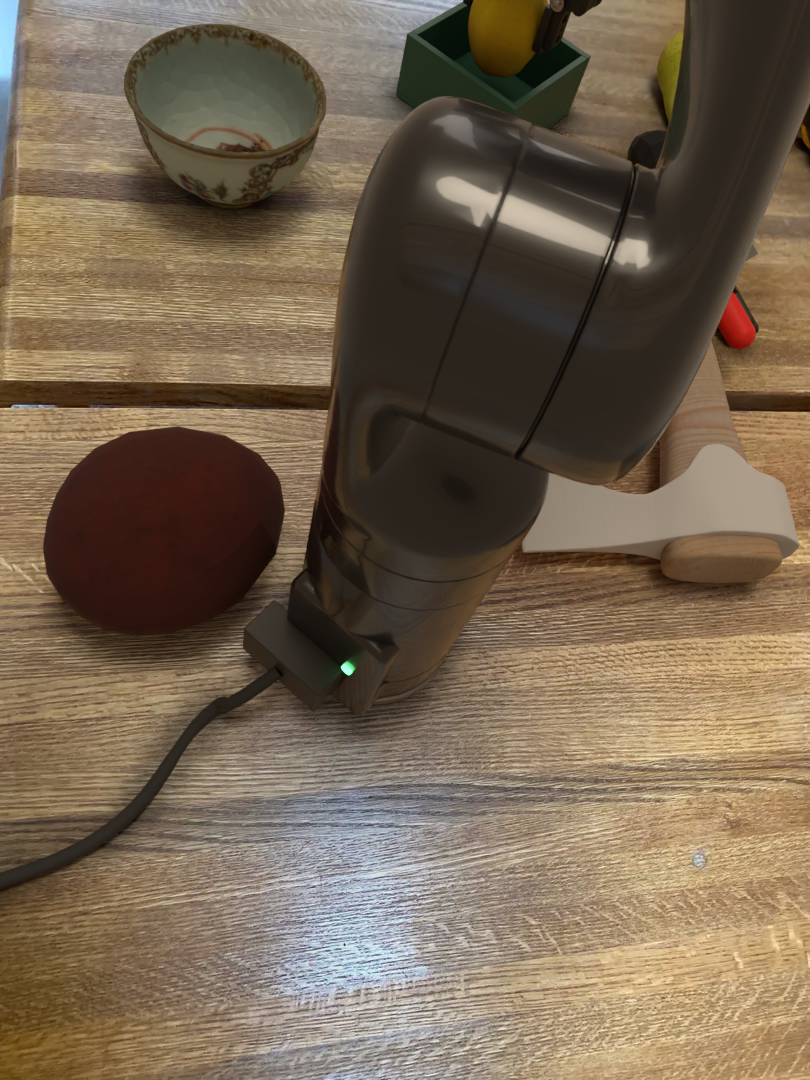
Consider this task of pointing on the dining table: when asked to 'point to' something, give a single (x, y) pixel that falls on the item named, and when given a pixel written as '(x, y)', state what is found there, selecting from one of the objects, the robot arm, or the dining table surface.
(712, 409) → the axe
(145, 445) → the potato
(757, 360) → the dining table surface
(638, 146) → the gaming mouse
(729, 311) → the toy gun
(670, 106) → the fruit
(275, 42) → the bowl
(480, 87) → the bin
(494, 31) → the apple
